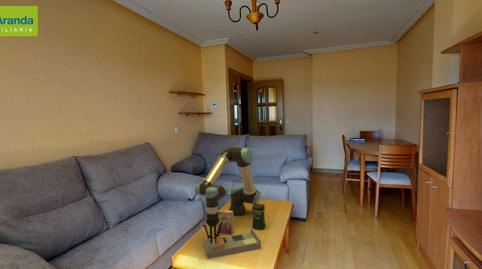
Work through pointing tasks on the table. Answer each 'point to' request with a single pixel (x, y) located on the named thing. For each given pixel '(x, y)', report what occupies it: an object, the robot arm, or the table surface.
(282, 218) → the table surface
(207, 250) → the block
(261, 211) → the coffee jar
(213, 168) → the robot arm
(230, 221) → the candy bar box
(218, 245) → the block
